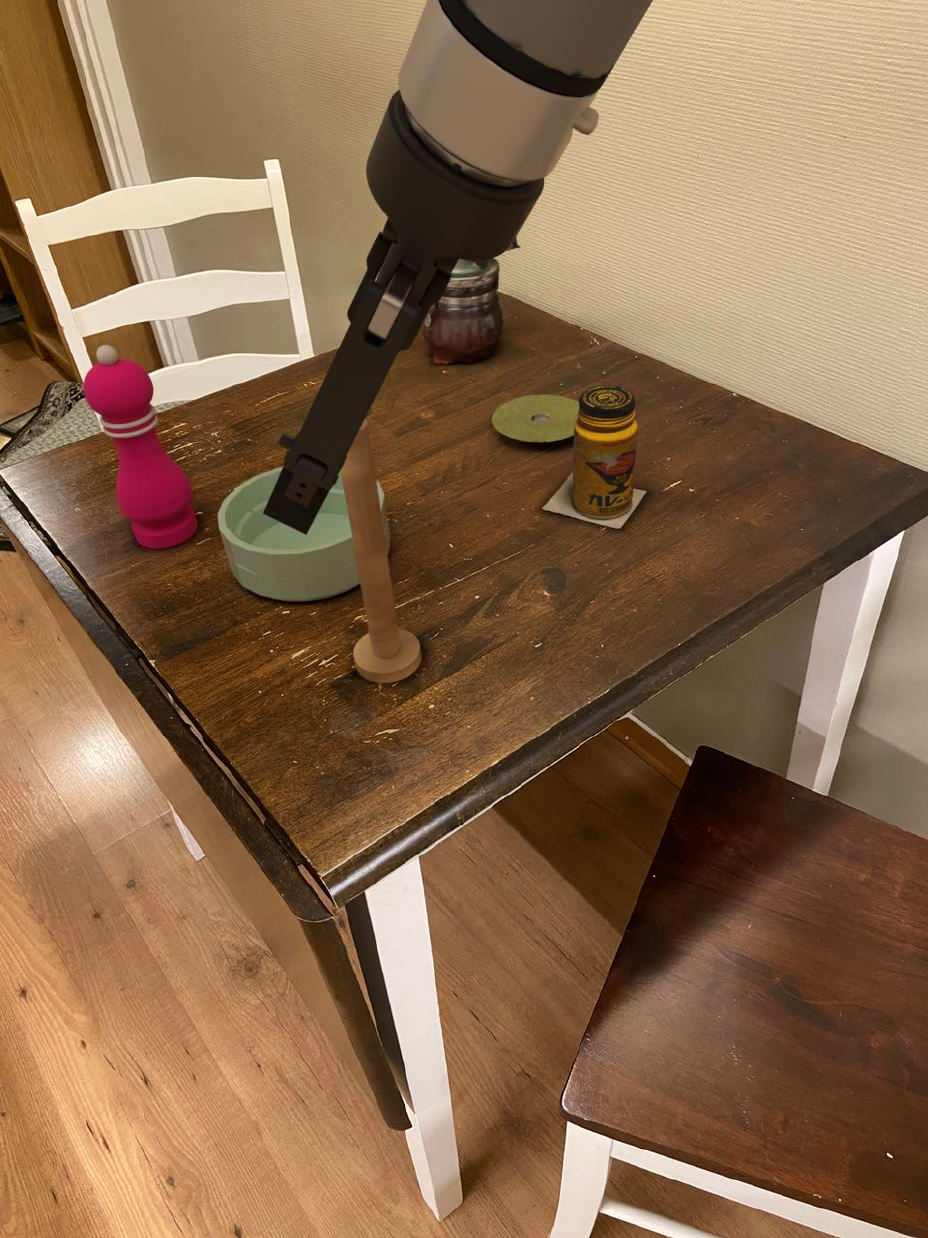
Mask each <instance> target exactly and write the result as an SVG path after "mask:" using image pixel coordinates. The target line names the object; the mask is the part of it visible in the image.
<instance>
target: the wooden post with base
mask: <svg viewBox="0 0 928 1238" xmlns="http://www.w3.org/2000/svg"><path fill="white" fill-rule="evenodd" d="M369 427H370V426H369V422H368V420H367V419H366V418H365V420H364V422H363V424H362V426H361V428H360V430H359V432H358V433H357V435H356V437H355V439H354V441H353V443H352V445H351V447H350V449H349V451H348V453H347V455H346V456H347V458H346V461H345V463H344V465H343V467H342V469H341V470H340V471H341V477H342V483H343V488H344V494H345V500H346V505H347V511H348V517H349V522H350V528H351V534H352V539H353V545H354V551H355V556H356V562H357V568H358V573H359V579H360V584H359V585H360V590H361V595H362V601H363V602H362V603H363V606H364V612H365V618H366V624H367V630H368V633H366V634H365V635H363V636H362V637H361V638H359V639H358V641H357V642H356V644H355V645H354V648H353V653H352V656H353V662H354V667H355V669H356V671H357V673H358V675H360V676H361V677H362V678H364V679H366V680H367V681H369V682H372V683H376V684H377V683H378V684H391V683H395V682H400V681H402V680H405V679H406V678H408V677H409V676H411V675H413V673H415V672H416V671H417V670H418V669H419V667H420V664H421V662H422V650H421V643H420V640H419V639H418V637H416V635H414V633H412V632H410V631H408V630H407V629H405V628H404V629H403V628H400V627H399V625H398V618H397V617H398V616H397V612H396V611H397V610H396V605H395V598H394V591H393V584H392V577H391V571H390V563H389V557H388V556H389V555H388V556H387V549H386V542H385V536H384V529H383V522H382V515H381V508H380V502H379V495H378V488H377V481H378V480H377V476H376V475H377V474H376V468H375V462H374V461H375V460H374V454H373V448H372V443H371V435H370V428H369ZM376 480H377V481H376Z"/></svg>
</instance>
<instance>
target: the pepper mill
mask: <svg viewBox="0 0 928 1238" xmlns="http://www.w3.org/2000/svg"><path fill="white" fill-rule="evenodd" d="M118 356H119V355H118V352H117V350H116V349H115V347H114V346H111V345H109V344H103V345H101V346H99V347H98V348H97V350H96V359H97V360H98V362H97V363H96V364H95V365H93V366H92V367H91V368H90V369H89V370H88V371H87V373H86V375H85V376H84V380H83V395H84V398H85V401H86V402H87V404H88V406H89V408H90V409H91V410H93V411H94V412H95V413H97V414H98V415H100V417H99V422H100V424H101V426H102V431H103V433H104V434H105V435H106V436H108V437H109V438H111V440H112V442H113V444H114V446H115V450H116V453H117V457H118V471H117V476H116V487H115V496H116V501H117V505H118V509H119V510H120V512H121V514H122V515H123V516H124V517H125V518H127V519H128V520H130V521H131V529H132V530H133V531H132V532H133V534H134V537H135V539H136V541H137V543H138V544H139V545H141V546H143V547H144V548H147V549H153V550H161V549H163V550H164V549H168V548H172V547H175V546H179V545H181V544H183V543H185V542H187V541H188V540H189V539H190V538H192V537H193V536H194V535H195V533H197V531H198V530H197V529H198V525H199V524H198V520H197V516H196V514H195V510H194V508H193V507H192V506H191V503H192V500H193V494H194V493H193V488H192V485H191V482H190V480H189V478H188V476H187V475H186V474H185V472H184V471H183V469H182V468H181V467H180V466H179V465H178V464H177V462H176V461H174V459H172V457H171V456H170V455H169V454H168V453H167V452H166V450H165V449H164V447H163V446H162V444H161V442H160V439H159V437H158V434H157V429H156V425H157V424H158V422H159V417H158V415H157V414H156V408H155V406H154V405H153V404H151V402H152V400H153V397H154V389H155V388H154V384H153V381H152V379H151V377H150V375H149V374H148V373H149V372H148V371H147V370H145V368H144V367H143V366H142V365H140V364H139V363H137V362H136V361H133V360H131V359H128V358H122V357H120V358H119V357H118Z"/></svg>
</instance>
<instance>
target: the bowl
mask: <svg viewBox="0 0 928 1238" xmlns="http://www.w3.org/2000/svg"><path fill="white" fill-rule="evenodd" d="M282 468H283V466H279V467H276V468H273V469H271V470H268V471H265V472H262V473H260V474H257V475H254V476H253V477H250V478H249V479H248V480H246V481H244V482H243V483H241V484H240V485H238V486H237V487H235V489H234V490H233V491H232V492H230V493H229V494H228V495H227V496H226V498H225V499H224V500H223V502H222V503H221V506H220V508H219V510H218V513H217V523H218V530H219V534H220V536H221V540H222V543H223V547H224V551H225V553H226V557H227V560H228V563H229V566H230V570H231V574H232V576H233V577H234V578H235V579H236V580H237V581H238V583H239V584H240V586H242V587H243V588H245V589H247V590H249V591H251V592H253V593H254V594H256V595H258V596H261V597H265V598H269V599H271V600H276V601H282V602H290V603H291V602H295V603H296V602H297V603H298V602H299V603H300V602H311V601H312V602H313V601H319V600H324V599H328V598H332V597H335V596H338V595H340V594H343V593H345V592H348V591H350V590H352V589H353V588H356V587H357V586H359V585H360V579H359V573H358V568H357V562H356V556H355V551H354V545H353V539H352V534H351V528H350V522H349V517H348V511H347V505H346V500H345V494H344V488H343V483H342V477H341V471H340V472H339V474H338V476H339V478H338V480H337V482H336V484H335V486H334V485H333V486H332V488H331V489H330V491H329V493H328V495H327V497H326V499H325V501H324V503H323V504H322V506H321V508H320V510H319V512H318V514H317V516H316V518H315V520H314V522H313V524H312V526H311V527H310V529H309V531H308V533H307V535H305V534H303V533H301V532H299V531H297V530H295V529H293V528H291V527H289V526H287V525H285V524H283V523H281V522H279V521H277V520H275V519H273V518H271V517H269V516H267V515H265V514H263V512H264V509H265V507H266V505H267V502H268V500H269V498H270V496H271V493H272V491H273V489H274V486H275V484H276V482H277V480H278V477H279V475H280V473H281V470H282ZM376 481H377V488H378V495H379V502H380V508H381V515H382V522H383V529H384V536H385V542H386V549H387V556H389V553H390V546H391V540H392V539H391V534H390V526H389V519H388V512H387V510H388V509H387V504H386V503H387V502H386V497H385V493H384V490H383V488H382V485H381V483H380V482H379V481H378V480H377V479H376Z"/></svg>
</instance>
